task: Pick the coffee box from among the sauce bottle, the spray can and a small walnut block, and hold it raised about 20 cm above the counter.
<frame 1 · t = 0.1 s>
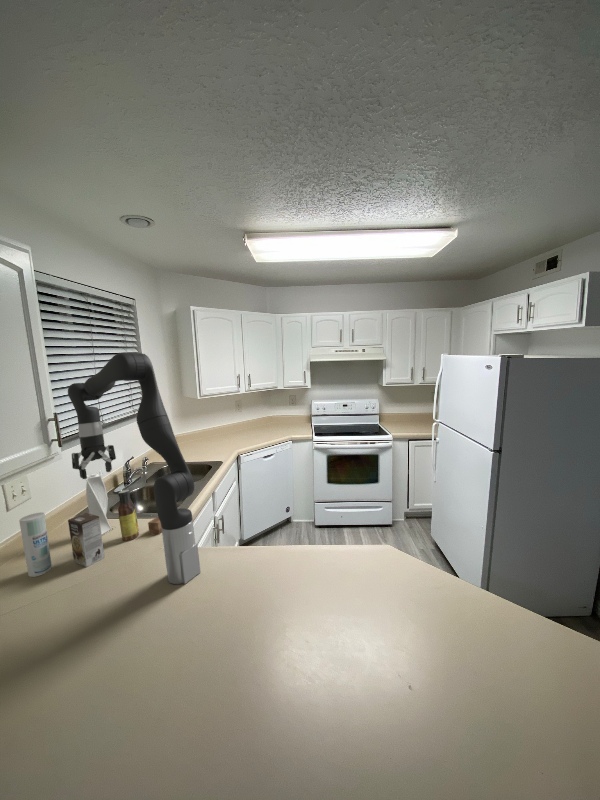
hand: (97, 475, 115), 29 cm above the counter, fingers open, 8 cm apart
sauce bottle: (130, 537, 123), on the counter
spray can: (40, 571, 104), on the counter
coffee box: (89, 560, 108), on the counter
walnut block: (158, 531, 126), on the counter
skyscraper: (102, 532, 130), on the counter
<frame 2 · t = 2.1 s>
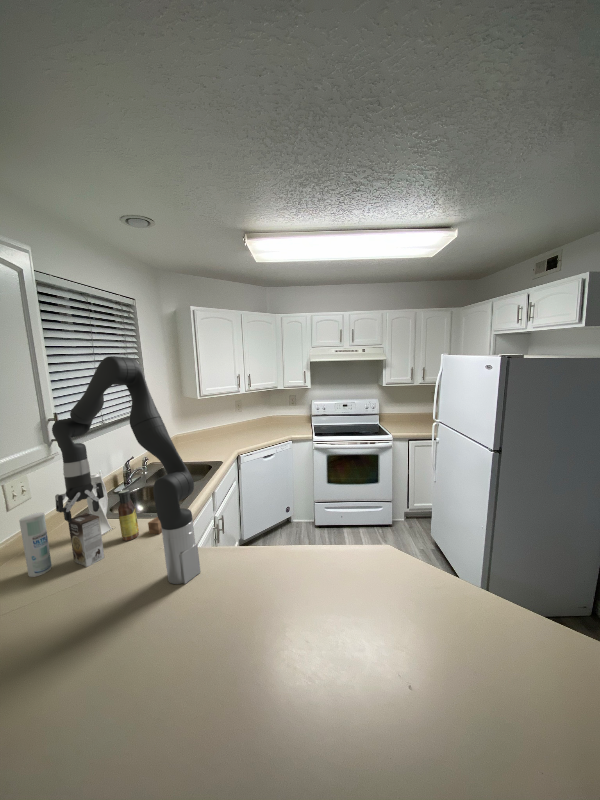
hand: (83, 516, 107), 17 cm above the counter, fingers open, 8 cm apart
nothing on the counter moved.
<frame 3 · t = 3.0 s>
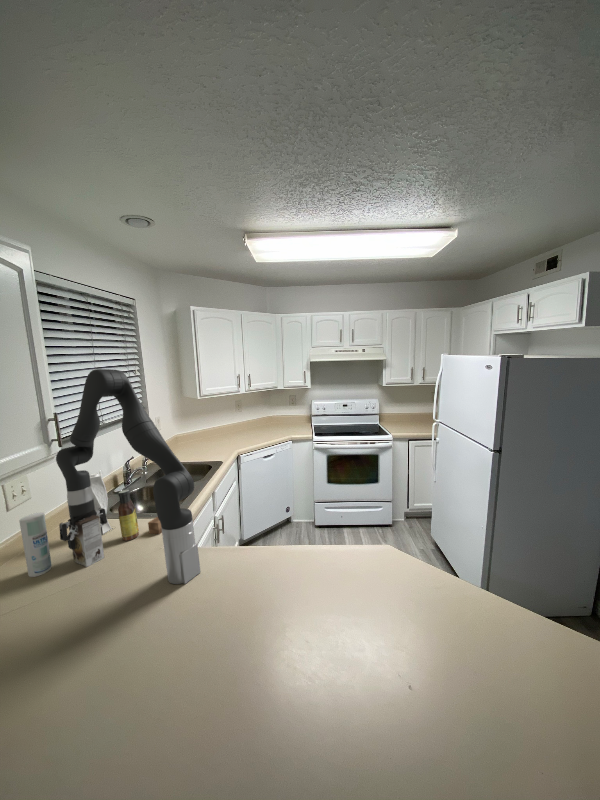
hand: (86, 542, 108), 6 cm above the counter, fingers open, 8 cm apart
nothing on the counter moved.
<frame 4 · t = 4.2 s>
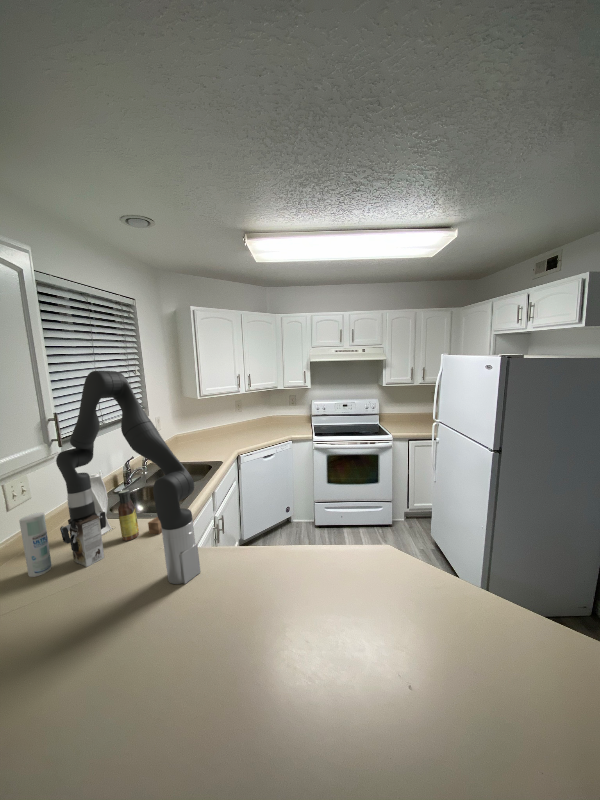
hand: (87, 546, 108), 5 cm above the counter, fingers closed on coffee box, 6 cm apart
coffee box: (89, 560, 108), on the counter, touching gripper
everything else where it was.
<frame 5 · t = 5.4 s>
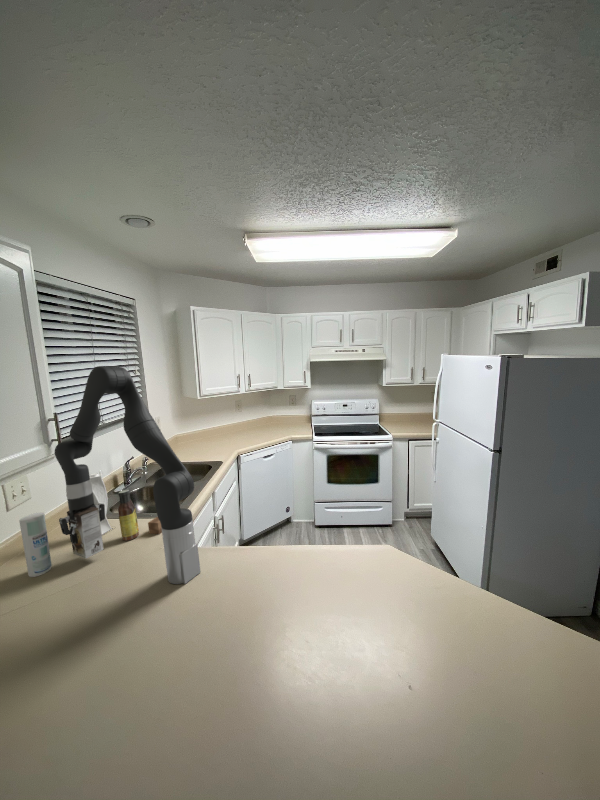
hand: (86, 538, 108), 8 cm above the counter, fingers closed on coffee box, 6 cm apart
coffee box: (88, 552, 108), point 3 cm above the counter, touching gripper
everything else where it was.
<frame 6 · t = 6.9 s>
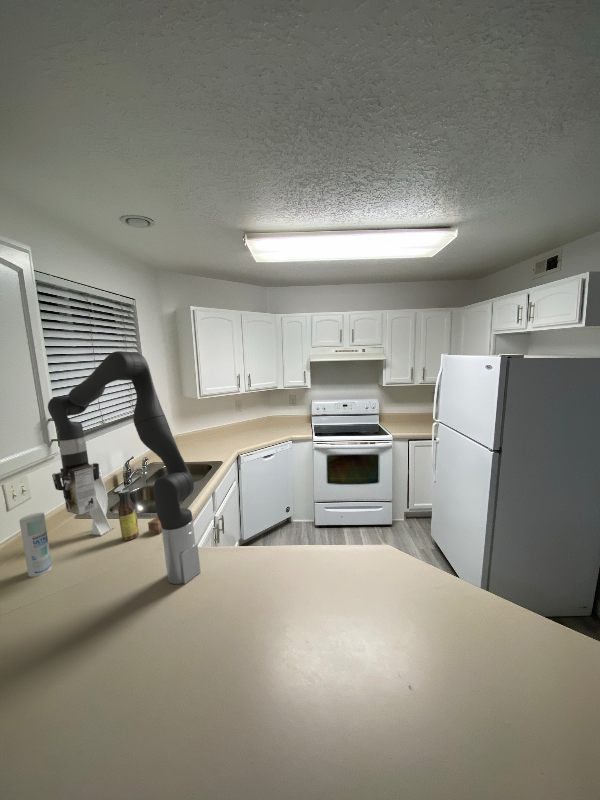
hand: (80, 496, 107), 24 cm above the counter, fingers closed on coffee box, 6 cm apart
coffee box: (82, 510, 107), point 19 cm above the counter, touching gripper
everything else where it was.
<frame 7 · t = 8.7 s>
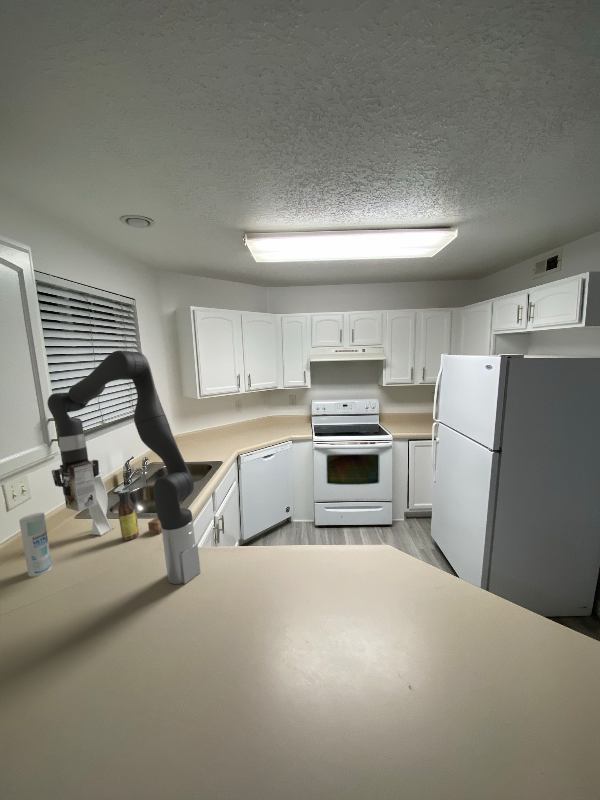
hand: (80, 492, 107), 26 cm above the counter, fingers closed on coffee box, 6 cm apart
coffee box: (81, 507, 107), point 20 cm above the counter, touching gripper
everything else where it was.
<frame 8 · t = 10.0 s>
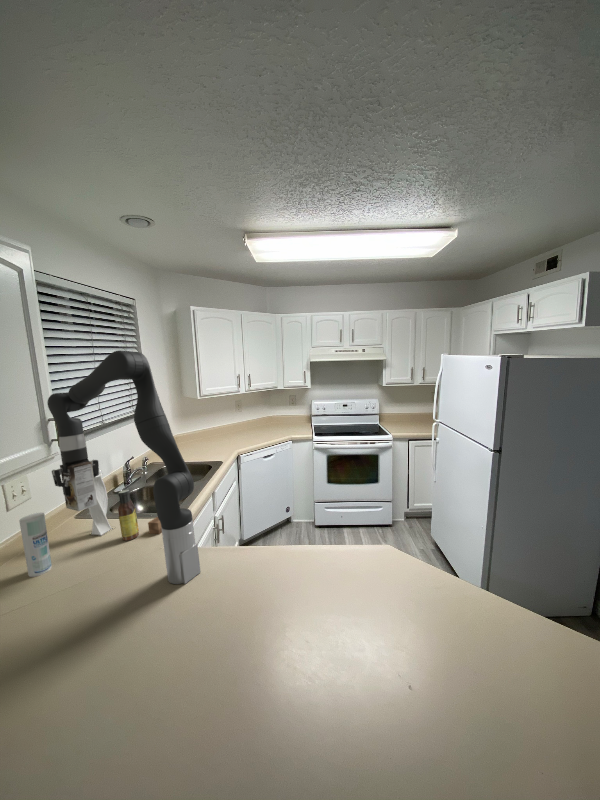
hand: (80, 492, 107), 26 cm above the counter, fingers closed on coffee box, 6 cm apart
coffee box: (81, 507, 107), point 20 cm above the counter, touching gripper
everything else where it was.
at the end: the gripper is holding coffee box; coffee box point 20.1 cm above the counter; sauce bottle moved 0.2 cm from its start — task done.
